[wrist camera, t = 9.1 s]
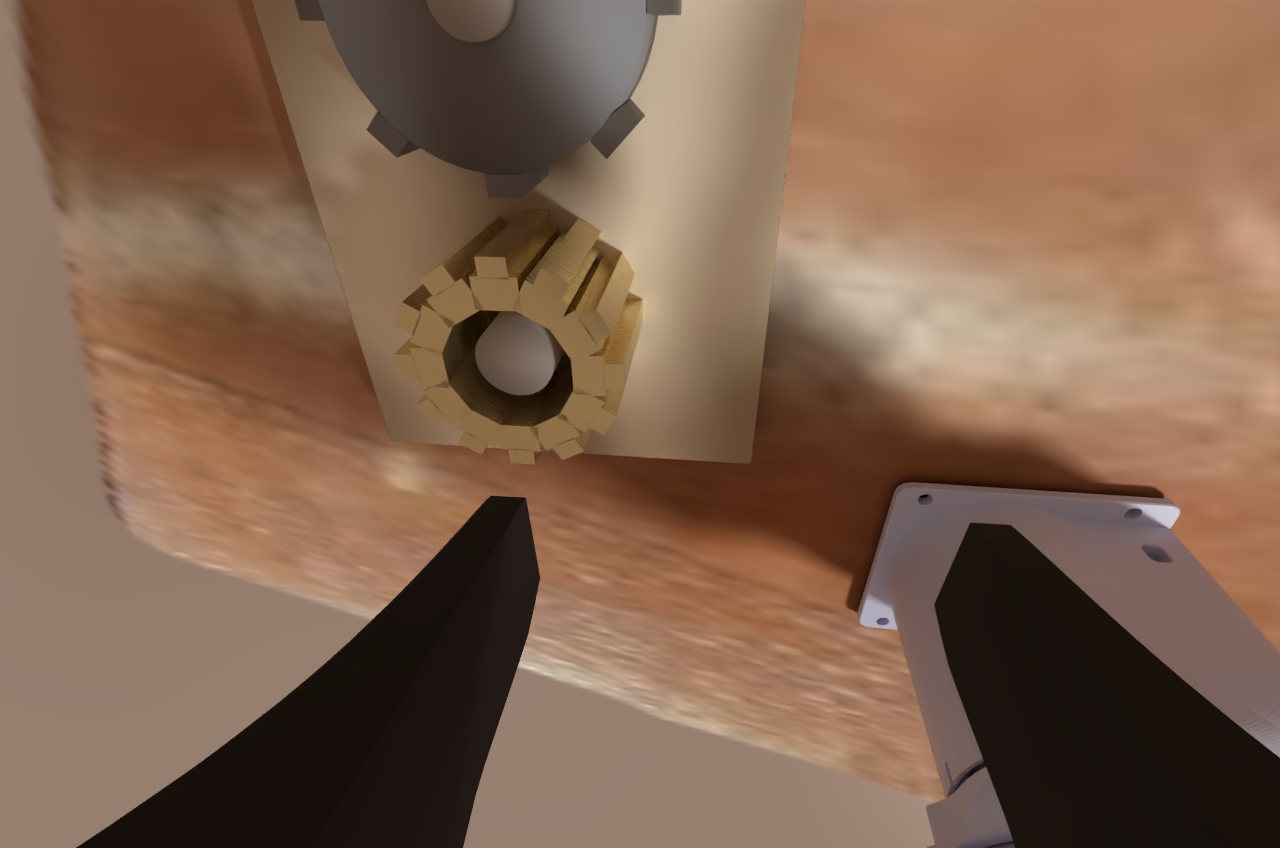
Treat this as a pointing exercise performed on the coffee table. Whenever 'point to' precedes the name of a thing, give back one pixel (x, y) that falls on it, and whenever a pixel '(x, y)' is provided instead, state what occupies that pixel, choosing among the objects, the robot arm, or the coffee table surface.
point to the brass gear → (544, 292)
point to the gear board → (556, 181)
